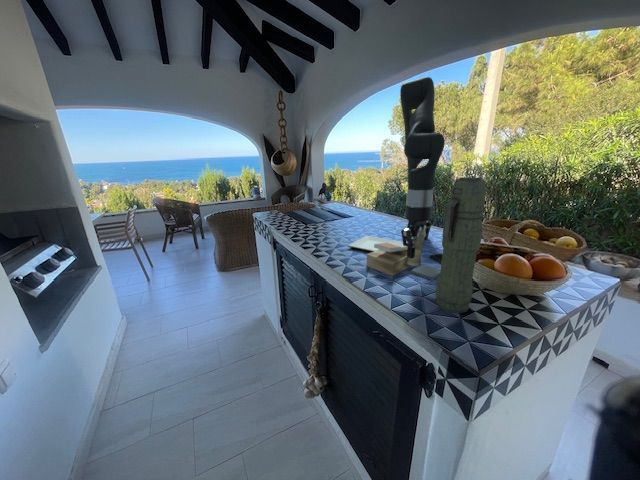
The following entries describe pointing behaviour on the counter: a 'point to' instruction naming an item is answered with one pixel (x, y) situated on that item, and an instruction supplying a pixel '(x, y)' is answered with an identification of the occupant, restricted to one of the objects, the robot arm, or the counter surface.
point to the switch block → (388, 261)
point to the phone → (436, 257)
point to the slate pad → (426, 272)
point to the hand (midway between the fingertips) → (414, 255)
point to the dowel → (417, 251)
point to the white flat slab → (391, 246)
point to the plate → (370, 243)
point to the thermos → (460, 244)
